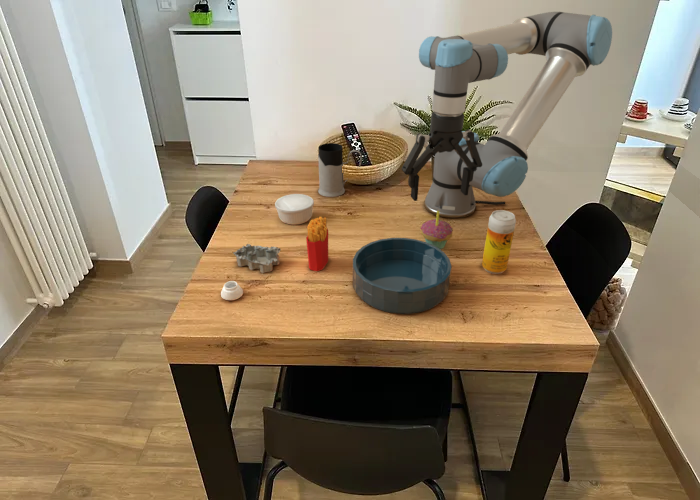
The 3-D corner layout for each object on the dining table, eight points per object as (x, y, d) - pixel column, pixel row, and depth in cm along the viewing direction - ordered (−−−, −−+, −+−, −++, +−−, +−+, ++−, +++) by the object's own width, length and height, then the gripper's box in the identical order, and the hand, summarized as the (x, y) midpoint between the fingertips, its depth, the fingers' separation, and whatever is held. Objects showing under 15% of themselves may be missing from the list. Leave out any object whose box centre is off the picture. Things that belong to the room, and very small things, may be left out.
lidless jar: (217, 293, 116) (226, 304, 112) (216, 283, 114) (225, 293, 111) (237, 286, 118) (246, 296, 115) (236, 275, 117) (245, 286, 113)
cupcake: (450, 255, 130) (455, 214, 123) (417, 252, 131) (421, 211, 125) (451, 238, 137) (456, 199, 130) (420, 235, 138) (423, 196, 132)
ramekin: (269, 222, 145) (267, 206, 142) (287, 206, 154) (286, 191, 151) (303, 229, 141) (302, 213, 139) (320, 212, 150) (319, 197, 147)
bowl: (427, 254, 130) (429, 232, 127) (464, 306, 111) (468, 282, 108) (343, 266, 125) (342, 244, 122) (367, 322, 107) (367, 298, 103)
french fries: (319, 274, 123) (318, 231, 116) (305, 271, 124) (302, 229, 117) (332, 256, 129) (330, 215, 123) (317, 253, 130) (316, 213, 124)
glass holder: (317, 185, 167) (316, 142, 159) (360, 184, 168) (360, 141, 160) (318, 197, 159) (316, 152, 151) (362, 195, 160) (363, 151, 152)
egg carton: (283, 261, 128) (282, 248, 125) (266, 276, 122) (264, 262, 120) (250, 250, 132) (249, 237, 130) (232, 264, 126) (230, 251, 124)
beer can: (492, 277, 121) (502, 223, 113) (476, 265, 126) (484, 212, 118) (511, 271, 123) (522, 217, 115) (494, 259, 128) (504, 207, 120)
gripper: (489, 104, 121) (477, 185, 132) (391, 111, 115) (387, 194, 127) (505, 113, 114) (491, 196, 126) (402, 121, 109) (397, 207, 120)
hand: (439, 196), depth 126 cm, fingers open, 13 cm apart
